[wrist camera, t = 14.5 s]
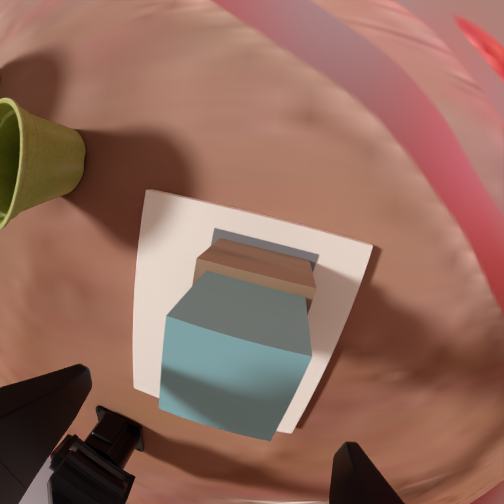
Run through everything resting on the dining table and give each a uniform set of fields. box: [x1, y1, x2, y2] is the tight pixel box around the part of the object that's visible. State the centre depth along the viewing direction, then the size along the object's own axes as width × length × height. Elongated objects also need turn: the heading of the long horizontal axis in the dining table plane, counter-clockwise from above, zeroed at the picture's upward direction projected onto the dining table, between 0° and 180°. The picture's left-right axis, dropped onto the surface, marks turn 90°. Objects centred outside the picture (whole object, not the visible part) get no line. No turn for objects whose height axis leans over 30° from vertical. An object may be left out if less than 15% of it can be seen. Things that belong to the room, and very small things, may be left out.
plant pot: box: [0, 98, 86, 230], centre depth 15 cm, size 9×9×9 cm
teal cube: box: [159, 270, 312, 441], centre depth 12 cm, size 5×5×5 cm
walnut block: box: [192, 238, 316, 314], centre depth 17 cm, size 6×6×5 cm
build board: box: [133, 189, 373, 433], centre depth 21 cm, size 19×16×1 cm
